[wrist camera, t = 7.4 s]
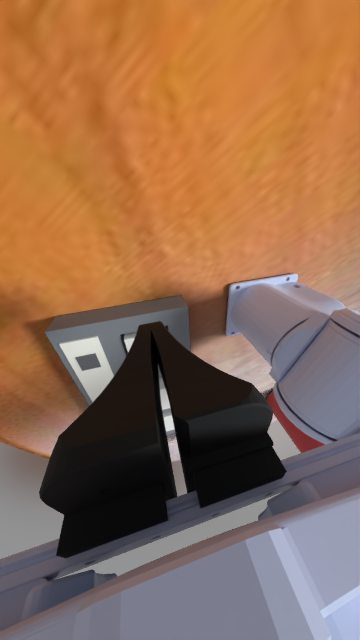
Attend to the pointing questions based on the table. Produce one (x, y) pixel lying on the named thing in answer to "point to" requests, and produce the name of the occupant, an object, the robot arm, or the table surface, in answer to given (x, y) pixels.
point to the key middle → (163, 395)
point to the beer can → (292, 428)
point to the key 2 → (168, 421)
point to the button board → (111, 339)
